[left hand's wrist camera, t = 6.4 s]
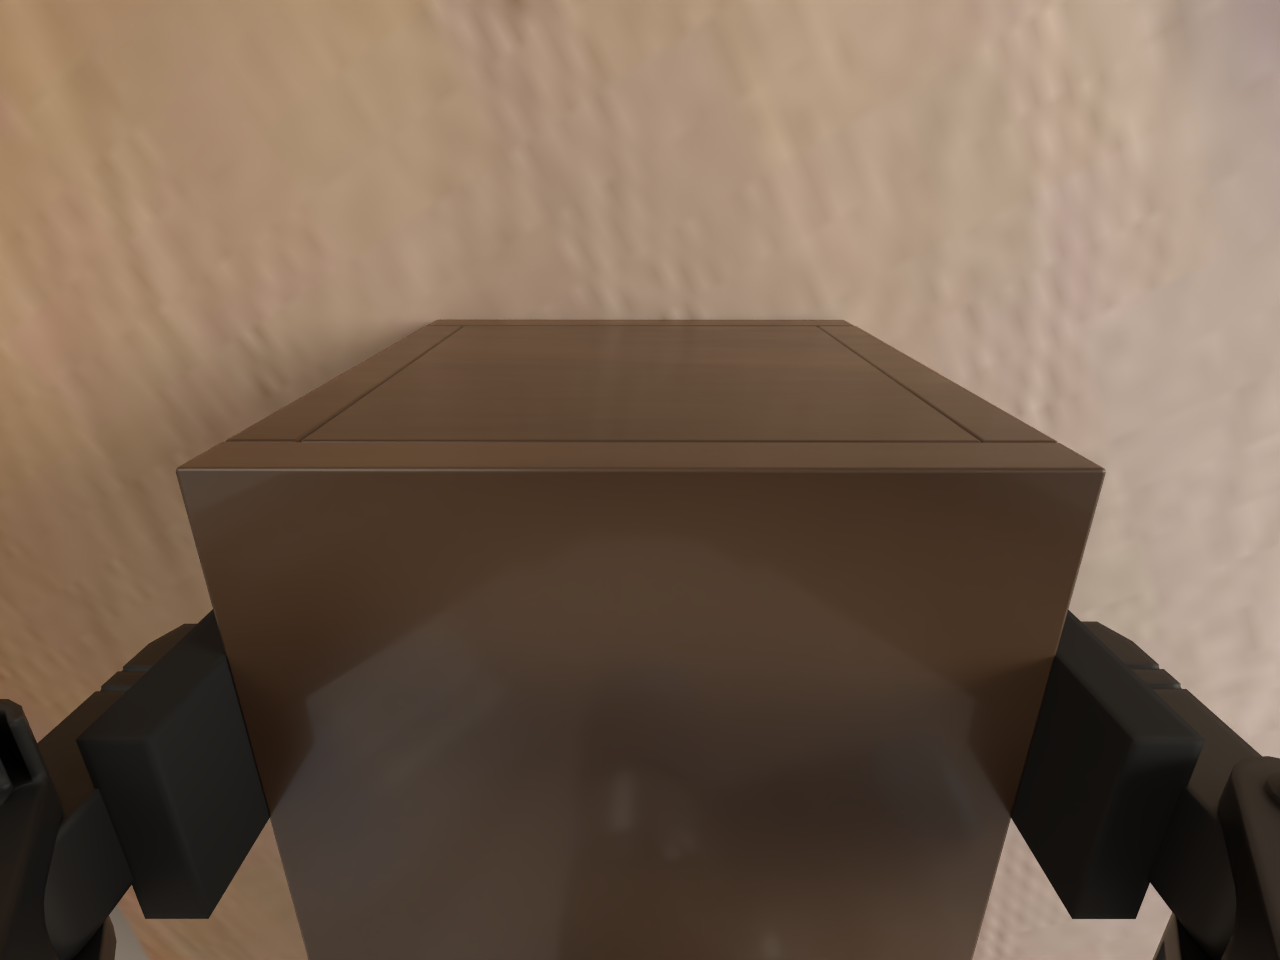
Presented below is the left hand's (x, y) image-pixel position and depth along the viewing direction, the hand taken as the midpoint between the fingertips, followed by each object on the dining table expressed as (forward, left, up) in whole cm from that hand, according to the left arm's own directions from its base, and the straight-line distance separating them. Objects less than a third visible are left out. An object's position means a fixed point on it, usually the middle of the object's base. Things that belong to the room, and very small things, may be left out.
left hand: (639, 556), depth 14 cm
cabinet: (+7, 0, -5) cm, 9 cm away
